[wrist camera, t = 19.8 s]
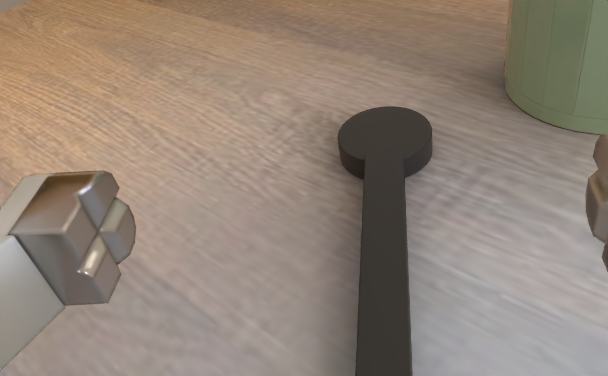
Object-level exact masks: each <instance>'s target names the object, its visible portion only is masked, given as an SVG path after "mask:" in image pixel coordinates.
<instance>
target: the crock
mask: <svg viewBox="0 0 608 376" xmlns="http://www.w3.org/2000/svg"><path fill="white" fill-rule="evenodd" d="M504 66H505V75H504V84H505V89H506V91H507V94H508V95H509V97H510V98H511V100H512V101H513V102H514V103H515V104H516V105H517V106H518V107H519V108H521V109H522V110H523V111H525V112H526V113H528V114H530V115H531V116H533V117H535V118H537V119H539V120H541V121H544V122H546V123H549V124H552V125H554V126H558V127H561V128H565V129H569V130H574V131H579V132H585V133H593V134H608V0H509V7H508V21H507V34H506V48H505V61H504Z"/></svg>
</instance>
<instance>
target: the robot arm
mask: <svg viewBox="0 0 608 376" xmlns="http://www.w3.org/2000/svg"><path fill="white" fill-rule="evenodd" d="M593 158H594V160H595V162H596V164H597V167H598V170H597V171H596V172H595V173H594V174H593V175H592V176H590V177H589V178H588V183H587V189H586V214H587V218H588V223H589V226H590V228H591V231H592V234H593V236H594V237H596V238H597V239H599V240H600V241H602V242H603V243H605V246H604V250H603V254H602V259H603V262H604V264H605V266H606V269H607V271H608V134H605V135H600V136H599V138H598V140H597V142H596V145H595V149H594V153H593ZM118 191H119V186H118V184H117V182H116V180H115V179H114V177H113V175H112V174H111V173H109V172H106V171H104V170H103V171H83V172H62V173H54V174H53V173H47V174H32V175H29V176H26V177H24V178H22V179H21V181H20V182H19V183H18V185H17V186H16V187H15V189H14V190H13V191H12V193H11V194H10V195H9V197H8V198H7V199H6V201H5V202H4V203H3V205H2V206H1V207H0V371H1V370H2V369H3V368H4V367H5V366H6V365H7V364H8V363H9V362H10V361H11V360H12V359H13V358H14V357H15V356H16V355H17V354H18V353H19V352H20V351H21V350H22V349H23V348H24V347H26V346H27V345H28V344H29V343H30V342H31V341H32V340H33V339H34V338H35V337H36V336H37V335H38V334H39V333H40V332H41V331H42V330H43V329H44V328H45V327H46V326H47V325H48V324H49V323H50V322H51V321H52V320H53V319H54V318H55V317H56V316H57V315H58V314H59V313H60V312H62V311H63V310H64V309H65V306H67V305H85V304H104V303H109V300H110V298H111V296H112V294H113V292H114V289H115V287H116V285H117V283H118V281H119V278H120V276H121V272H120V269H119V267H118V264H120V263H121V262H122V261H123V260H124V259H126V258H127V257H128V256H129V255H130V254H131V251H132V249H133V246H134V244H135V235H136V225H135V220H134V216H133V214H132V212H131V210H130V208H129V206H128V205H127V204H125V203H124V202H122V201H121V200H120V199H118V198H117V194H118Z"/></svg>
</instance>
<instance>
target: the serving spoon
mask: <svg viewBox="0 0 608 376" xmlns="http://www.w3.org/2000/svg"><path fill="white" fill-rule="evenodd" d="M338 145H339V151H340V158H341V162H342V164H343V166H344V167H345V168H346V169H347V170H348V171H349V172H350V173H352V174H353V175H355V176H357V177H360V178H362V179H364V189H363V212H362V235H361V258H360V282H359V305H358V328H357V352H356V375H355V376H413V375H412V350H411V325H410V300H409V276H408V251H407V226H406V201H405V177H408V176H410V175H412V174H414V173H416V172H418V171H419V170H421V169H422V168H423V167H424V166H425V165H426V164H427V163H428V161H429V160H430V158H431V155H432V128H431V125H430V123H429V121H428V120H427V119H426V118H425V117H424V116H423V115H421V114H420V113H418V112H416V111H414V110H411V109H407V108H402V107H378V108H373V109H369V110H366V111H363V112H360V113H358V114H356V115H354V116H353V117H351V118H350V119H348V120H347V121H346V122H345V123H344V124H343V125H342V127H341V128H340V130H339V133H338Z"/></svg>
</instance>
